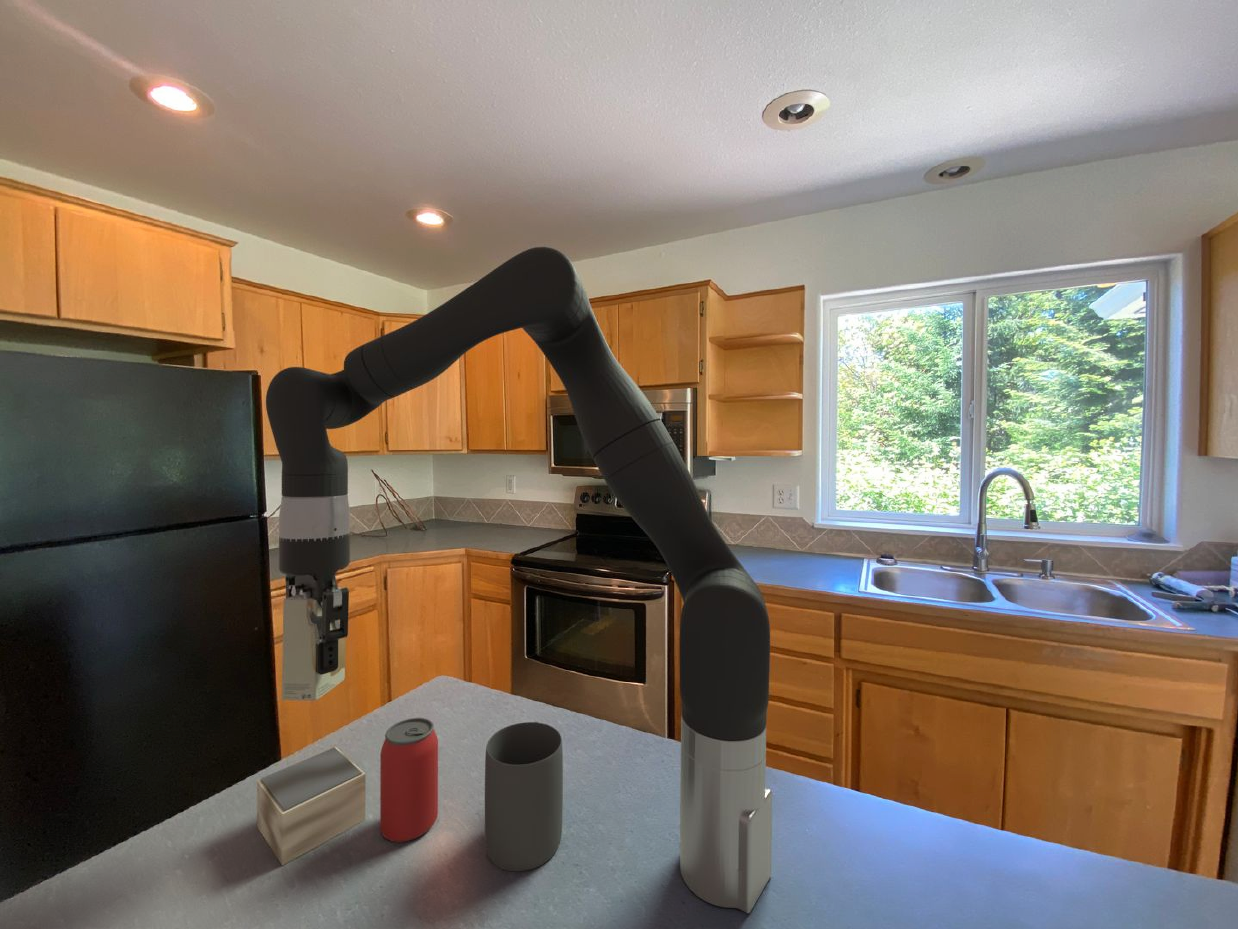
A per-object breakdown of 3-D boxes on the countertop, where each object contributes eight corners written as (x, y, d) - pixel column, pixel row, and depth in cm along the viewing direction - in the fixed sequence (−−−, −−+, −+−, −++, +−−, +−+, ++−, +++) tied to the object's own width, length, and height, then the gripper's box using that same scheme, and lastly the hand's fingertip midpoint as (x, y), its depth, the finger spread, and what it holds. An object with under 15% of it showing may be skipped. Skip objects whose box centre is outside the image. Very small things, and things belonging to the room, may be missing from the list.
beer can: (417, 850, 57) (417, 748, 57) (367, 840, 58) (368, 741, 58) (448, 810, 63) (448, 718, 63) (403, 802, 64) (403, 712, 64)
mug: (556, 874, 54) (557, 767, 53) (474, 873, 54) (474, 765, 53) (570, 790, 67) (570, 704, 67) (504, 789, 67) (504, 703, 67)
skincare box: (315, 703, 58) (316, 600, 57) (280, 702, 58) (280, 599, 58) (347, 678, 64) (347, 586, 64) (315, 677, 64) (315, 585, 64)
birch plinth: (365, 819, 61) (365, 772, 61) (282, 865, 54) (282, 812, 54) (335, 788, 67) (335, 745, 67) (257, 827, 60) (257, 779, 60)
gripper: (372, 534, 59) (371, 670, 59) (325, 523, 68) (325, 640, 68) (302, 542, 53) (301, 692, 53) (261, 529, 62) (261, 657, 62)
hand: (315, 663), depth 61 cm, fingers closed on skincare box, 7 cm apart
